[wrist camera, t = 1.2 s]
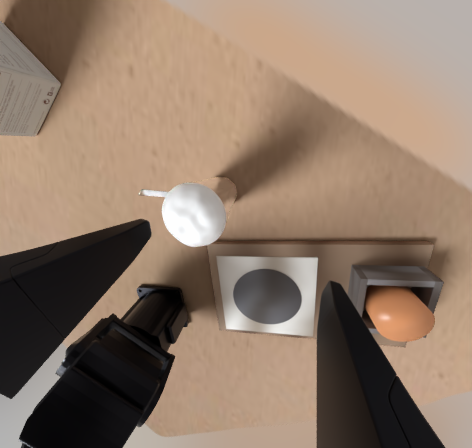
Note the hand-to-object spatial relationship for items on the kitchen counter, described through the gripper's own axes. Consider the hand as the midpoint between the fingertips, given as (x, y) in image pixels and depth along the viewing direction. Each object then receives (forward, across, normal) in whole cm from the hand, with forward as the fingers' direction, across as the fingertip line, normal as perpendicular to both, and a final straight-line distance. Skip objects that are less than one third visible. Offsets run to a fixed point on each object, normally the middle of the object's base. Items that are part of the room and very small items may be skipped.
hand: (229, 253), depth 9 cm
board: (+10, -7, +13) cm, 18 cm away
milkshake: (+11, +5, +3) cm, 13 cm away
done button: (+10, -14, +10) cm, 20 cm away
